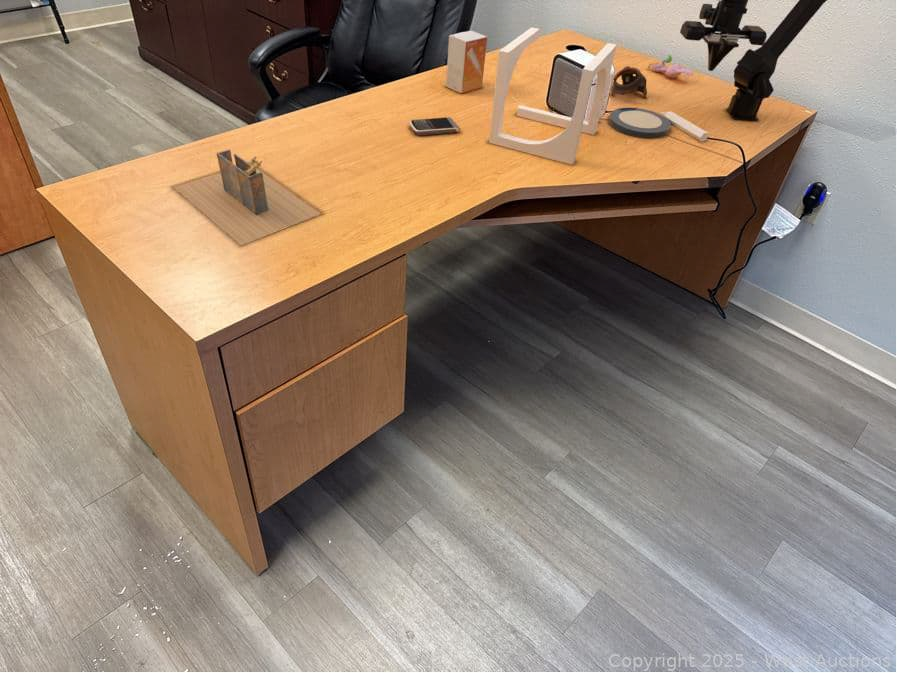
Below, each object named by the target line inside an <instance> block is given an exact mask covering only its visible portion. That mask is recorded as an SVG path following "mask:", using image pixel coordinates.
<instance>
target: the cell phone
mask: <svg viewBox="0 0 897 673" xmlns="http://www.w3.org/2000/svg"><path fill="white" fill-rule="evenodd" d="M409 126H410V128H411V130H412V131H413V133H414V134H415V135H416V136H429V135H441V134H442V135H443V134H452V133H454V134H455V133H459V131H460V128H459V126H458V125H457V123H456V122H455V120H453V118H452V117H450V116H448V117H433V118H420V119H411V120H410V121H409Z"/></svg>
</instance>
